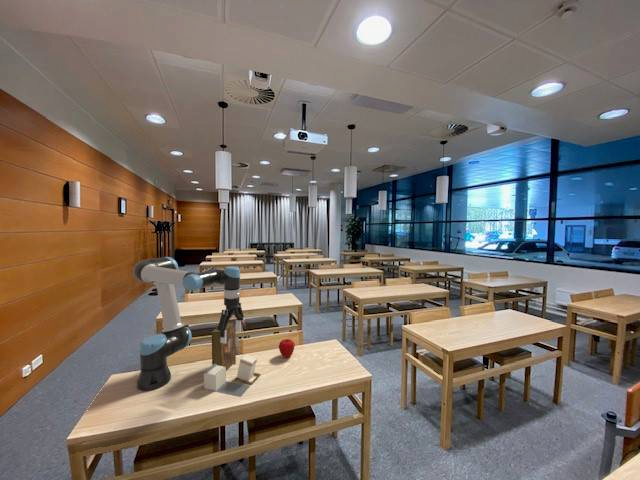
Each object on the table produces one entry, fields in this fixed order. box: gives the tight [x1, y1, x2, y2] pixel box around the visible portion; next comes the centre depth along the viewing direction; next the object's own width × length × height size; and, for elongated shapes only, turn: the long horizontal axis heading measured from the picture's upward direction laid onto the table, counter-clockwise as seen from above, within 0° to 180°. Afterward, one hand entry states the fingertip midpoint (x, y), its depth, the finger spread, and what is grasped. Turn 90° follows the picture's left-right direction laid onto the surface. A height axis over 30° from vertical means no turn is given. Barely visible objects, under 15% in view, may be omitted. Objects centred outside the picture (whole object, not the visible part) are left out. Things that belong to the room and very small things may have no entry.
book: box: [211, 320, 237, 372], centre depth 151 cm, size 16×6×25 cm, turn 168°
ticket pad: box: [203, 364, 227, 392], centre depth 135 cm, size 7×8×9 cm
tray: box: [233, 372, 261, 385], centre depth 141 cm, size 11×9×2 cm
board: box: [201, 380, 251, 398], centre depth 133 cm, size 22×9×1 cm, turn 74°
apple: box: [278, 338, 296, 358], centre depth 167 cm, size 10×10×11 cm
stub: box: [236, 353, 258, 382], centre depth 141 cm, size 7×5×11 cm
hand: (231, 337), depth 137 cm, fingers open, 13 cm apart
